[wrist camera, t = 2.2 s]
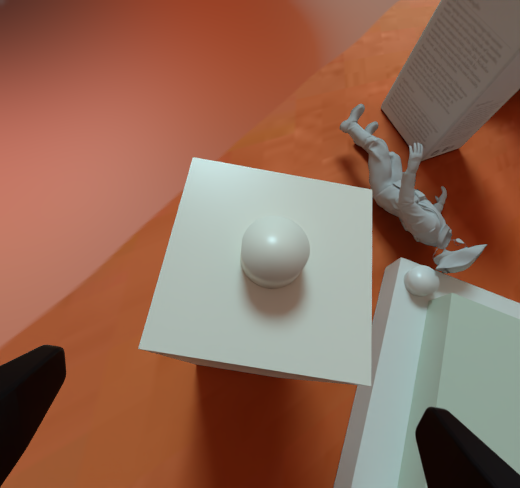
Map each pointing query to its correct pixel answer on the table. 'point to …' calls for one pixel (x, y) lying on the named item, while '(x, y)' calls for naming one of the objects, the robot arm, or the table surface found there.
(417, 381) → the studded pedestal base
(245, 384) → the table surface
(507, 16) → the skincare box
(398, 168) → the soldier figure
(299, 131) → the table surface
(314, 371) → the tall brick
